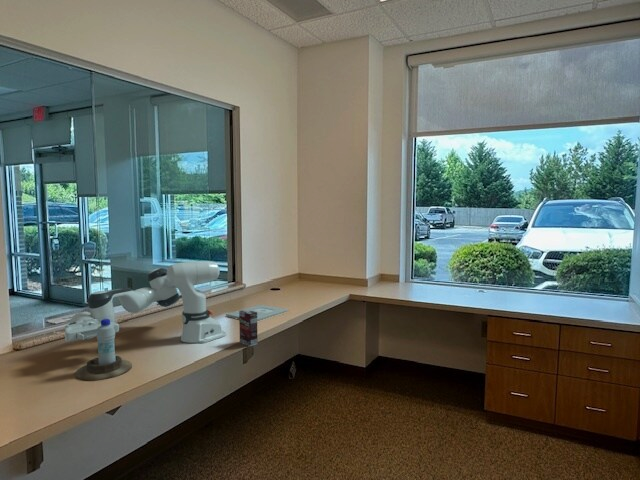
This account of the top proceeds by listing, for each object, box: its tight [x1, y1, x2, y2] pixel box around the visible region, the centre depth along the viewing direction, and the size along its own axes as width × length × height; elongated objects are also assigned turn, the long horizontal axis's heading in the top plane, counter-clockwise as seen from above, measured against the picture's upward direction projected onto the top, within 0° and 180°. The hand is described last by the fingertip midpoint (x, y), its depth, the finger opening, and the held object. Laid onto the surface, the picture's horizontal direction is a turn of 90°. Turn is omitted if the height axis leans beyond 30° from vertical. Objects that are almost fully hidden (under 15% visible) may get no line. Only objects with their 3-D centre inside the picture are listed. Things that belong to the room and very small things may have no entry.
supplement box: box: [238, 308, 258, 347], centre depth 200 cm, size 9×5×16 cm, turn 47°
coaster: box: [75, 355, 133, 382], centre depth 167 cm, size 20×20×4 cm
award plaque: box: [225, 304, 290, 322], centre depth 256 cm, size 25×30×2 cm
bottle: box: [96, 319, 116, 365], centre depth 167 cm, size 7×7×20 cm
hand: (97, 335), depth 171 cm, fingers open, 8 cm apart
